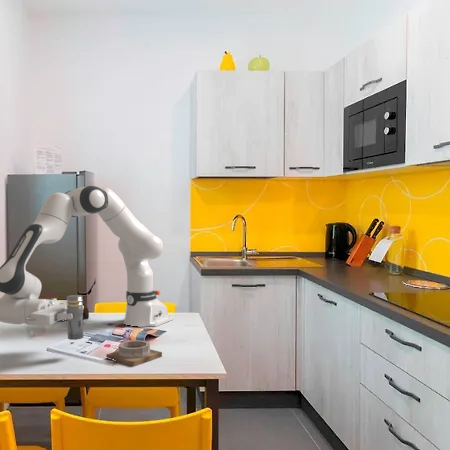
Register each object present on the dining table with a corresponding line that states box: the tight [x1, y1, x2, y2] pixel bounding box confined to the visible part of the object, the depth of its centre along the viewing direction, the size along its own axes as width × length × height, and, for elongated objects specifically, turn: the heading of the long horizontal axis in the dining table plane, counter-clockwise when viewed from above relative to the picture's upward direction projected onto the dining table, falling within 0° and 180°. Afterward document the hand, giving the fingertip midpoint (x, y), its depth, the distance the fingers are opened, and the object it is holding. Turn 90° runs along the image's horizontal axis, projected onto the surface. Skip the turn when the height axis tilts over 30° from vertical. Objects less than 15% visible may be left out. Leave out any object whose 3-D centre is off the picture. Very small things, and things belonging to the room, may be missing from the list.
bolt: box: [83, 306, 90, 320], centre depth 222 cm, size 6×5×15 cm
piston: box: [66, 294, 84, 341], centre depth 168 cm, size 5×5×14 cm
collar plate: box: [106, 339, 163, 368], centre depth 168 cm, size 13×13×4 cm
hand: (77, 314), depth 167 cm, fingers closed on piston, 5 cm apart
